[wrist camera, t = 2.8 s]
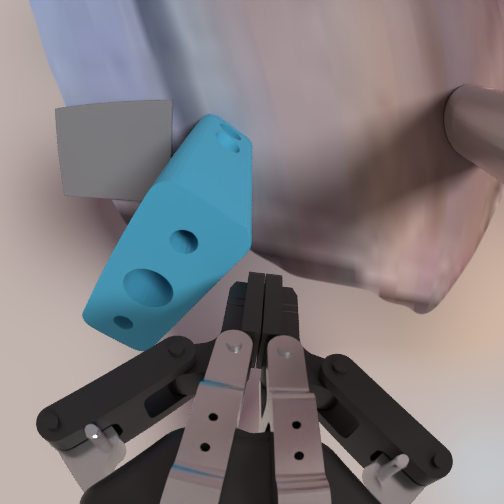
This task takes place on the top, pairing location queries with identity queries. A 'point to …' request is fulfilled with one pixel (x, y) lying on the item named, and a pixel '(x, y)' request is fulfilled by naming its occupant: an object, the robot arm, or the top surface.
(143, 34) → the top surface
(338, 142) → the top surface
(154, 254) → the block
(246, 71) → the top surface
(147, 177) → the mat
